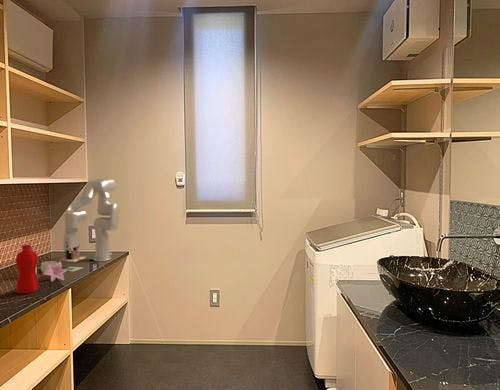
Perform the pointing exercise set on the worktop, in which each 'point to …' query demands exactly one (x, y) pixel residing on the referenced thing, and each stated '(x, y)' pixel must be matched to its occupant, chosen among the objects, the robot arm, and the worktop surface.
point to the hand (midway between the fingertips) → (72, 257)
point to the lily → (55, 271)
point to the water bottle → (27, 270)
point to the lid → (72, 257)
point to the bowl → (45, 265)
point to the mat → (73, 268)
